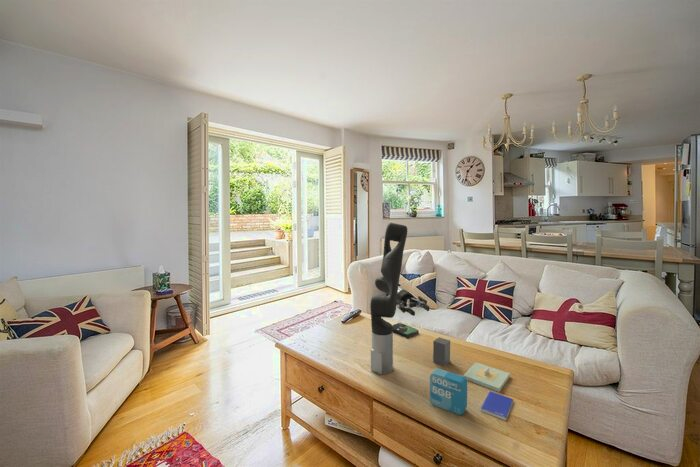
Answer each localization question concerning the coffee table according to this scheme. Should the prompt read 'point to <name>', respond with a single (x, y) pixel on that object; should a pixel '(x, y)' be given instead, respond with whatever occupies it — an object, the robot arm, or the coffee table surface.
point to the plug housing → (441, 351)
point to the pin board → (487, 376)
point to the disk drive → (404, 330)
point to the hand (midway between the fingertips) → (421, 311)
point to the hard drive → (497, 405)
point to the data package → (448, 391)
